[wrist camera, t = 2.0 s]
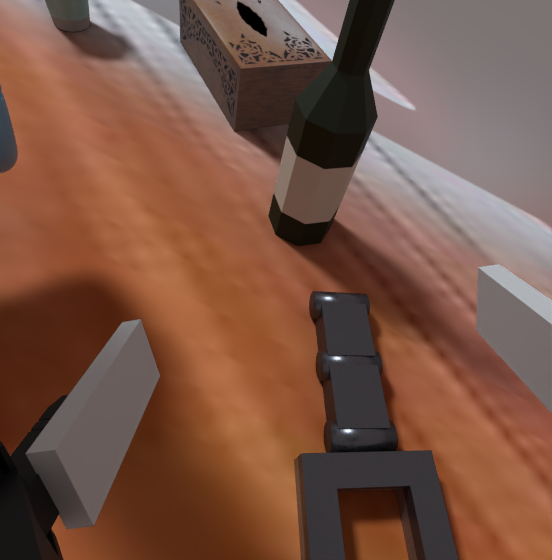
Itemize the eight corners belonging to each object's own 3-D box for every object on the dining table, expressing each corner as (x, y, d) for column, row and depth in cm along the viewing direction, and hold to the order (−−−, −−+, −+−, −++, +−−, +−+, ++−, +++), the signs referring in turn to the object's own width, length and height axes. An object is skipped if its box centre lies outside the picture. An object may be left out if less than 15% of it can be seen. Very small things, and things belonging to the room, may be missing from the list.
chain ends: (337, 1073, 20) (357, 1144, 18) (282, 298, 46) (287, 284, 43) (541, 1011, 22) (584, 1068, 20) (381, 303, 48) (391, 289, 45)
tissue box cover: (314, 121, 66) (331, 61, 58) (234, 133, 61) (240, 68, 53) (253, 39, 78) (260, -21, 69) (180, 43, 72) (178, -21, 64)
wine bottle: (329, 251, 51) (457, -26, 26) (265, 239, 50) (334, -57, 25) (330, 205, 55) (440, -67, 31) (271, 193, 55) (335, -95, 30)
